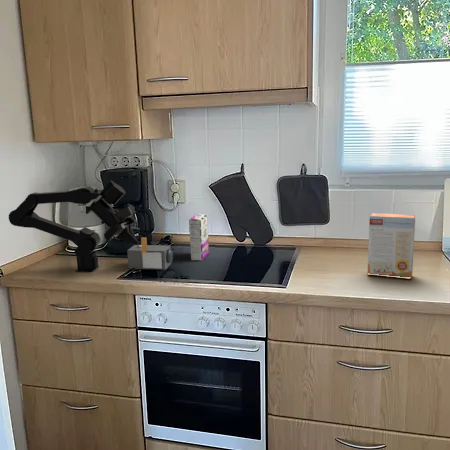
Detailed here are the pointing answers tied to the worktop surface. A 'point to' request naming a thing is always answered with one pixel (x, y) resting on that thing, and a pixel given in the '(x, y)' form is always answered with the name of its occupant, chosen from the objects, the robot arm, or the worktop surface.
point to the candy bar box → (199, 237)
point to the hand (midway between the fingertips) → (137, 244)
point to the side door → (150, 256)
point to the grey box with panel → (136, 251)
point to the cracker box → (391, 244)
